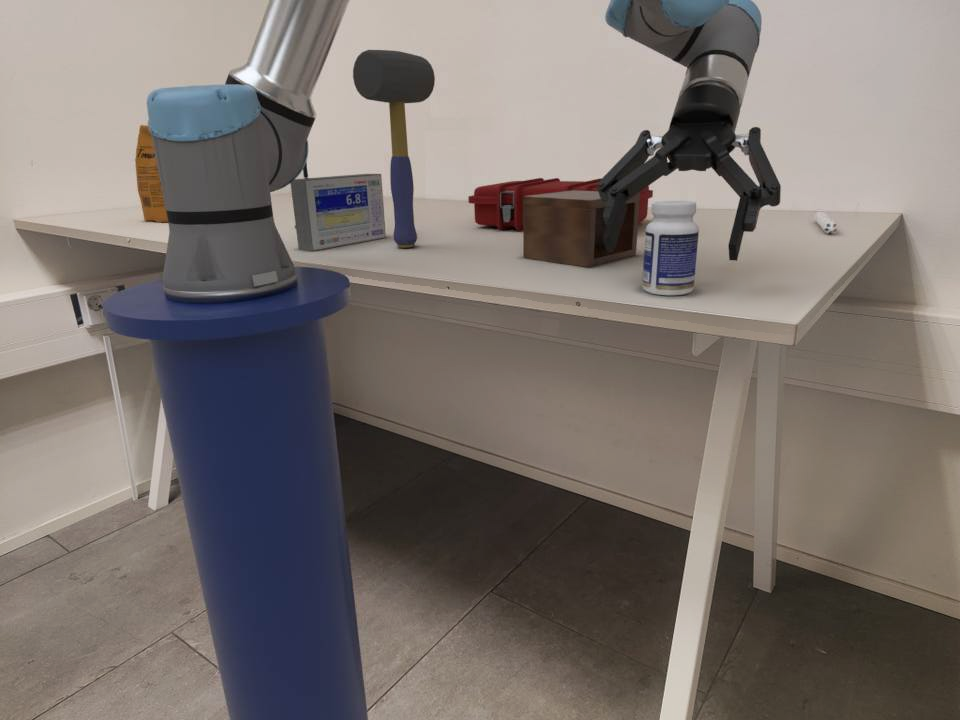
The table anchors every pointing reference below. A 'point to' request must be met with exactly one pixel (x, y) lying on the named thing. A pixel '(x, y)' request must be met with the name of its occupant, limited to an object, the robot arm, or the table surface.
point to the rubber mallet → (396, 120)
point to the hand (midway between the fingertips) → (667, 249)
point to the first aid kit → (506, 199)
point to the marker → (825, 222)
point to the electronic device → (337, 210)
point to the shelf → (575, 228)
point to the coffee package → (149, 178)
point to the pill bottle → (670, 249)
